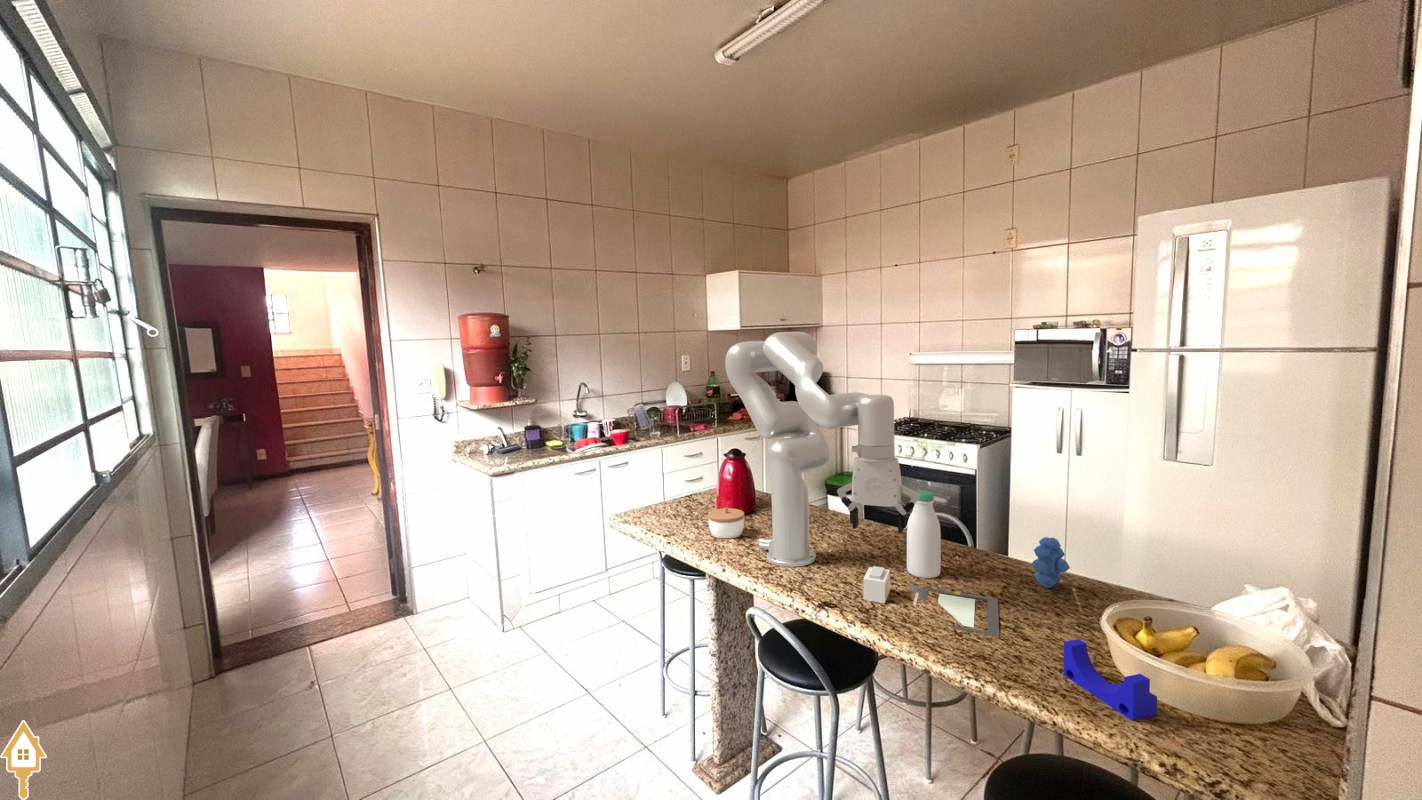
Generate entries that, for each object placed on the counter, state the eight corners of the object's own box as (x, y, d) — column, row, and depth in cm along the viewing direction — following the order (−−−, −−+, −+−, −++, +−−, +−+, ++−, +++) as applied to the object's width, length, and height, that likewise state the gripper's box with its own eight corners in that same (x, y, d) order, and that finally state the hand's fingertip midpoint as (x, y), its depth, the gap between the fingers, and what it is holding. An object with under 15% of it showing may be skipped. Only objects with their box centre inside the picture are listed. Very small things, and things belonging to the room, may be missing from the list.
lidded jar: (744, 545, 160) (743, 513, 159) (707, 545, 161) (706, 513, 160) (745, 532, 171) (744, 502, 170) (710, 533, 172) (709, 503, 171)
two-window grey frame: (831, 607, 121) (831, 605, 121) (849, 577, 136) (849, 575, 136) (999, 637, 107) (999, 634, 107) (997, 599, 122) (997, 597, 122)
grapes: (1057, 601, 120) (1058, 547, 119) (1024, 591, 126) (1025, 539, 124) (1080, 586, 127) (1081, 534, 126) (1048, 577, 132) (1049, 527, 131)
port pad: (934, 621, 113) (934, 620, 113) (939, 594, 125) (939, 593, 125) (973, 628, 110) (973, 627, 110) (975, 600, 122) (975, 599, 122)
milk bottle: (943, 579, 133) (943, 497, 131) (909, 578, 134) (909, 496, 132) (937, 567, 140) (937, 488, 138) (904, 565, 142) (904, 488, 140)
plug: (863, 603, 123) (863, 575, 122) (869, 590, 129) (869, 564, 128) (885, 606, 121) (885, 578, 120) (890, 593, 127) (890, 567, 126)
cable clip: (1156, 715, 84) (1157, 677, 83) (1132, 721, 83) (1133, 682, 82) (1085, 671, 95) (1085, 637, 95) (1063, 675, 94) (1064, 641, 94)
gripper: (832, 453, 122) (834, 530, 124) (916, 456, 115) (917, 538, 116) (840, 447, 129) (842, 520, 130) (920, 450, 121) (921, 528, 123)
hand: (877, 529), depth 123 cm, fingers open, 9 cm apart
